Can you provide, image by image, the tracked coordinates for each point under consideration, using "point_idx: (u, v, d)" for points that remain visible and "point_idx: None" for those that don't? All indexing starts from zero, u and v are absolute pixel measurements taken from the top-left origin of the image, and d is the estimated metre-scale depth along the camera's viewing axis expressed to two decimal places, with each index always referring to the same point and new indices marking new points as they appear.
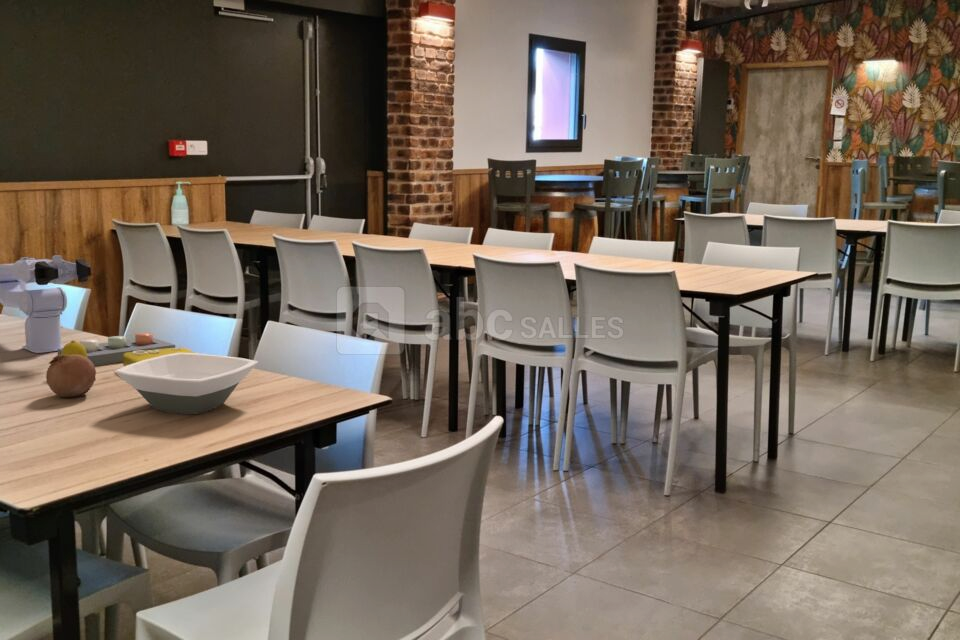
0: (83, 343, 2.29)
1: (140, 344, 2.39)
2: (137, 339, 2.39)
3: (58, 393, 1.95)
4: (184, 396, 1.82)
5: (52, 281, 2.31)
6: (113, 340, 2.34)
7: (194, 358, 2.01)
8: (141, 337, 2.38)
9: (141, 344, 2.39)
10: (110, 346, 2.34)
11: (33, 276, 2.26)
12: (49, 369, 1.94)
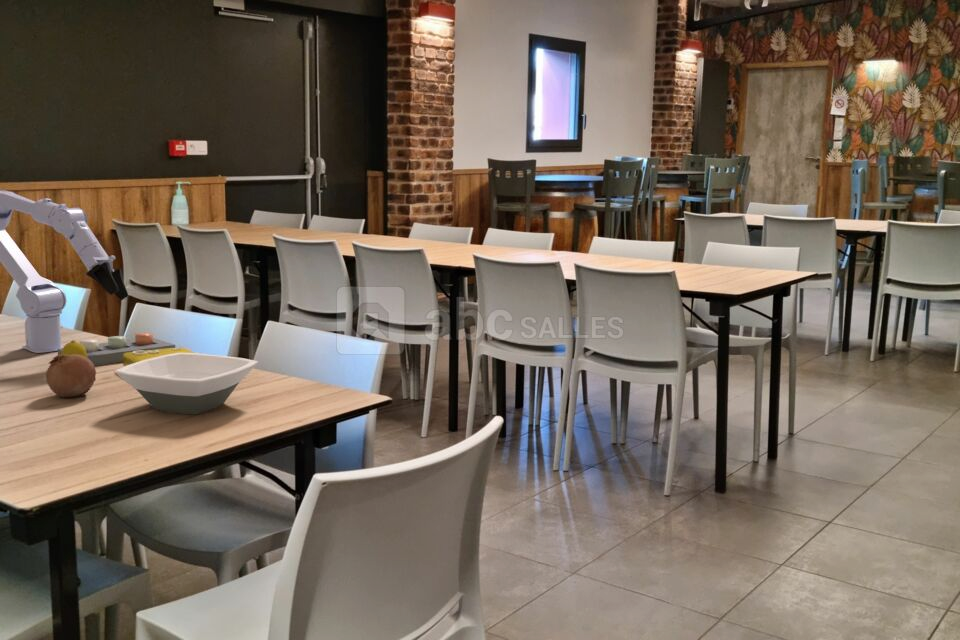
0: (83, 343, 2.29)
1: (140, 344, 2.39)
2: (137, 339, 2.39)
3: (58, 393, 1.95)
4: (184, 396, 1.82)
5: None
6: (113, 340, 2.34)
7: (194, 358, 2.01)
8: (141, 337, 2.38)
9: (141, 344, 2.39)
10: (110, 346, 2.34)
11: (91, 267, 2.26)
12: (49, 369, 1.94)
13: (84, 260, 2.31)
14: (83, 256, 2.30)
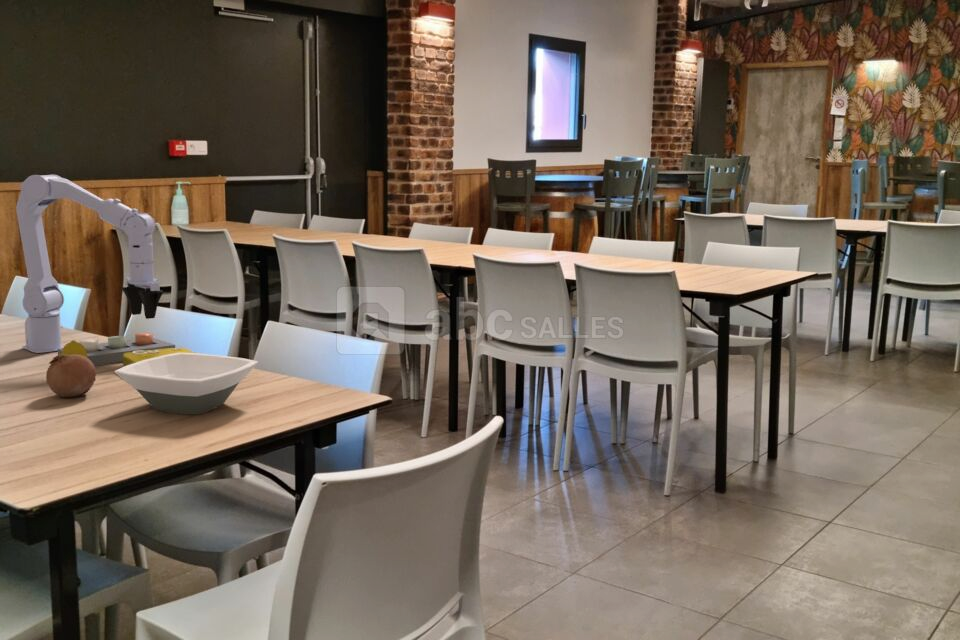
0: (83, 343, 2.29)
1: (140, 344, 2.39)
2: (137, 339, 2.39)
3: (58, 393, 1.95)
4: (184, 396, 1.82)
5: None
6: (113, 340, 2.34)
7: (194, 358, 2.01)
8: (141, 337, 2.38)
9: (141, 344, 2.39)
10: (110, 346, 2.34)
11: None
12: (49, 369, 1.94)
13: (137, 272, 2.35)
14: (139, 269, 2.35)
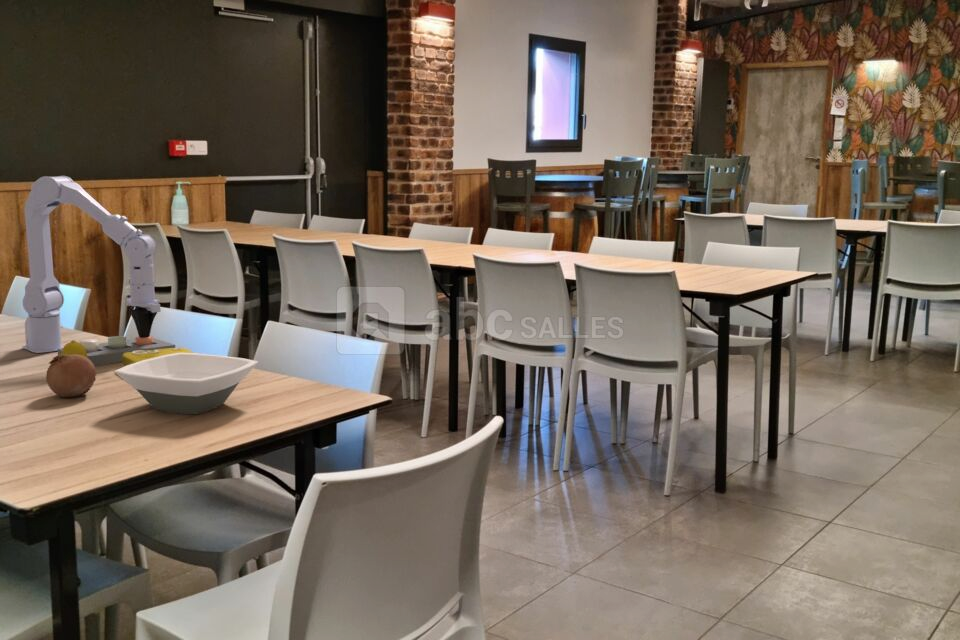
0: (83, 343, 2.29)
1: None
2: (137, 342, 2.39)
3: (58, 393, 1.95)
4: (184, 396, 1.82)
5: None
6: (113, 340, 2.34)
7: (194, 358, 2.01)
8: (141, 340, 2.39)
9: None
10: (110, 346, 2.34)
11: None
12: (49, 369, 1.94)
13: (138, 294, 2.36)
14: (140, 290, 2.36)
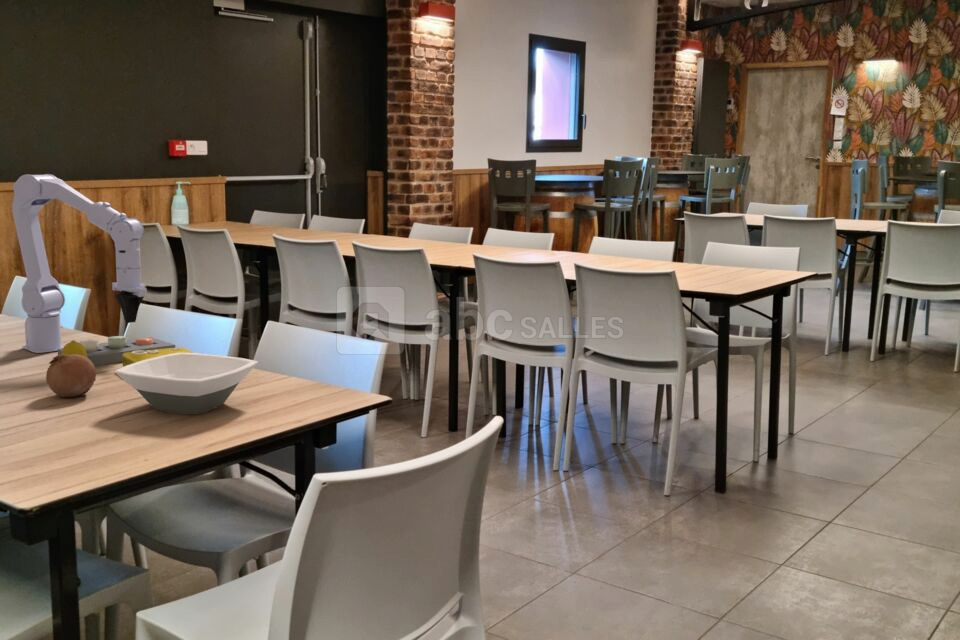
0: (83, 343, 2.29)
1: None
2: (137, 344, 2.39)
3: (58, 393, 1.95)
4: (184, 396, 1.82)
5: None
6: (113, 340, 2.34)
7: (194, 358, 2.01)
8: (141, 342, 2.39)
9: None
10: (110, 346, 2.34)
11: None
12: (49, 369, 1.94)
13: (124, 278, 2.33)
14: (126, 274, 2.33)
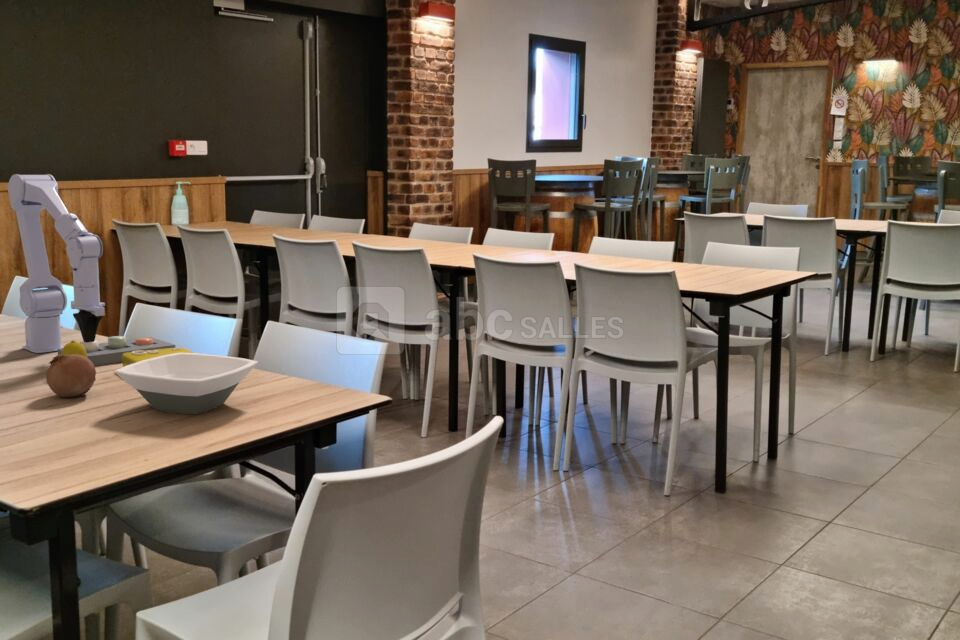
0: (83, 344, 2.29)
1: None
2: (137, 344, 2.39)
3: (58, 393, 1.95)
4: (184, 396, 1.82)
5: None
6: (113, 340, 2.34)
7: (194, 358, 2.01)
8: (141, 342, 2.39)
9: None
10: (110, 346, 2.34)
11: None
12: (49, 369, 1.94)
13: (82, 296, 2.26)
14: (84, 293, 2.26)
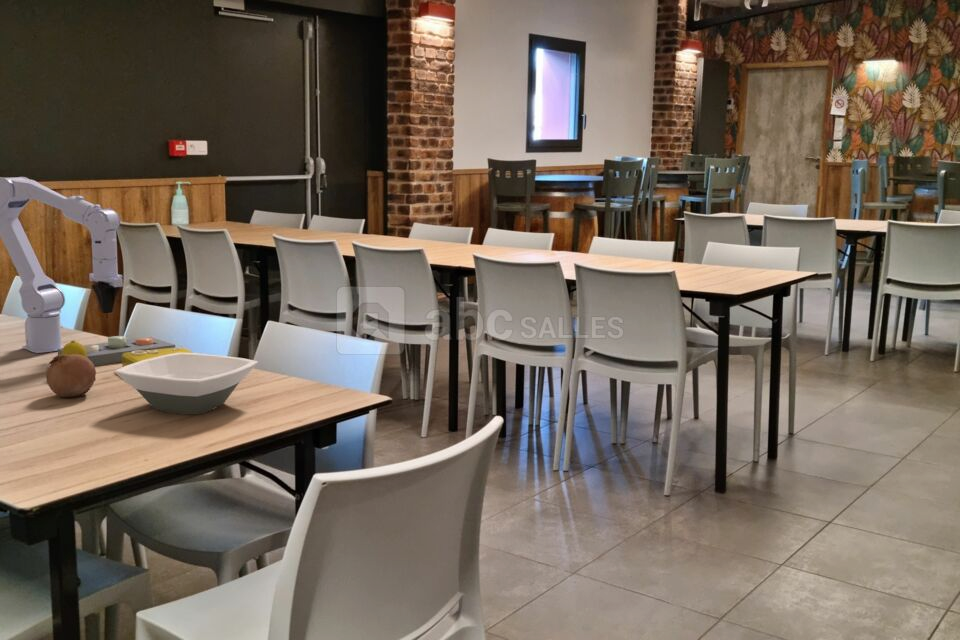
0: None
1: None
2: (137, 344, 2.39)
3: (58, 393, 1.95)
4: (184, 396, 1.82)
5: None
6: (113, 340, 2.34)
7: (194, 358, 2.01)
8: (141, 342, 2.39)
9: None
10: (110, 346, 2.34)
11: None
12: (49, 369, 1.94)
13: (100, 268, 2.33)
14: (102, 265, 2.33)
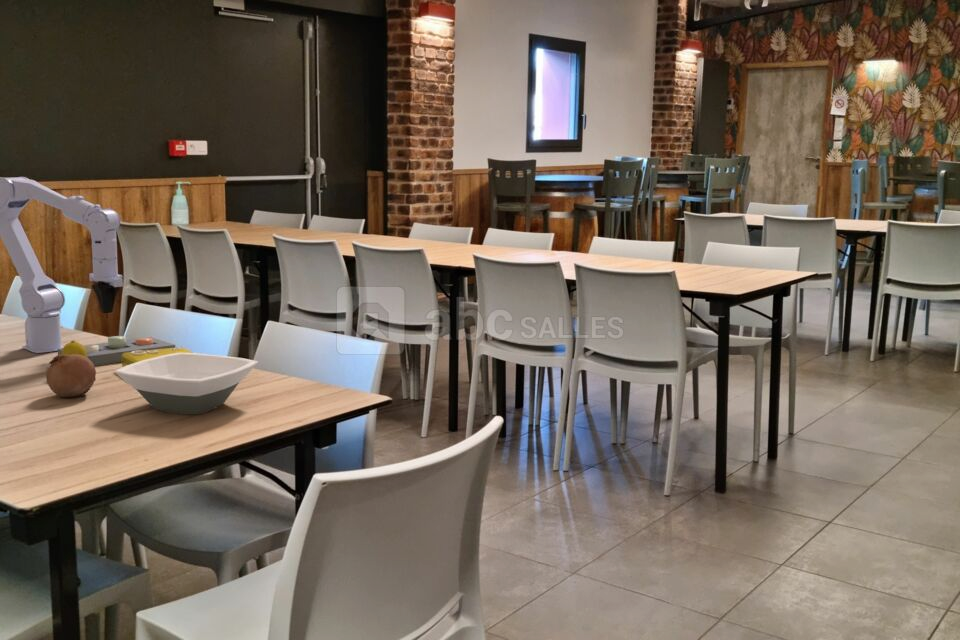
0: None
1: None
2: (137, 344, 2.39)
3: (58, 393, 1.95)
4: (184, 396, 1.82)
5: None
6: (113, 340, 2.34)
7: (194, 358, 2.01)
8: (141, 342, 2.39)
9: None
10: (110, 346, 2.34)
11: None
12: (49, 369, 1.94)
13: (100, 268, 2.33)
14: (102, 265, 2.33)
